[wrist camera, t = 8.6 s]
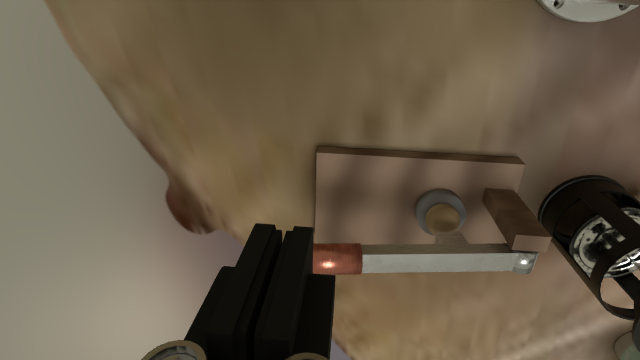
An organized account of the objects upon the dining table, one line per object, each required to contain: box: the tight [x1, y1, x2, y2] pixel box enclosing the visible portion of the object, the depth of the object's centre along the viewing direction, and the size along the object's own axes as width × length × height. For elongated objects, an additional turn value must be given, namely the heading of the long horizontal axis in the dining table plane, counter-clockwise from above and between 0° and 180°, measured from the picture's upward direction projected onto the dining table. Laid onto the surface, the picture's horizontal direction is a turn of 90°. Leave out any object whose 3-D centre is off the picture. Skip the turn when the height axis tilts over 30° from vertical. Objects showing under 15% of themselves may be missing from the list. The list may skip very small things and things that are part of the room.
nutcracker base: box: [315, 146, 552, 252], centre depth 39 cm, size 22×12×11 cm, turn 89°
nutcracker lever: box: [313, 232, 538, 275], centre depth 35 cm, size 22×3×4 cm, turn 89°
